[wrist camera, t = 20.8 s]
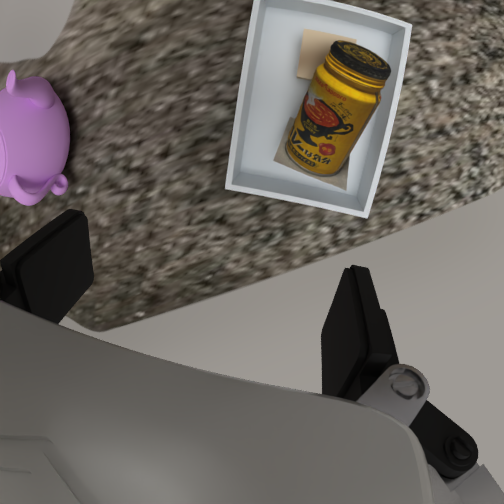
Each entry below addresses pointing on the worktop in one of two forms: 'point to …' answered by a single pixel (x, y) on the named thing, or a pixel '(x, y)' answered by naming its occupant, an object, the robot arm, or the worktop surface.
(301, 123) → the condiment
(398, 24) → the tote
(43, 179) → the teapot
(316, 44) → the cube
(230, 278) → the worktop surface
